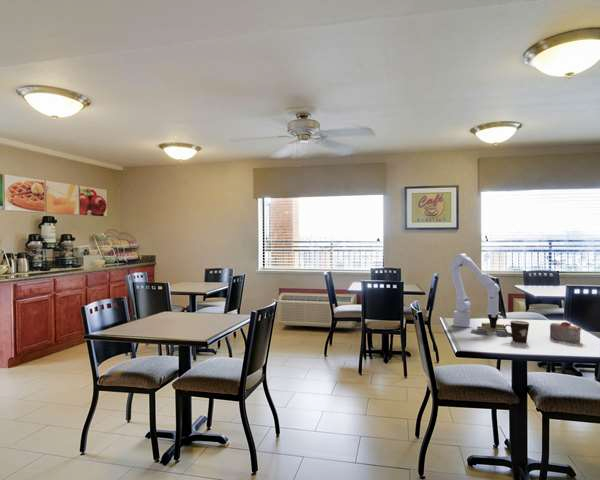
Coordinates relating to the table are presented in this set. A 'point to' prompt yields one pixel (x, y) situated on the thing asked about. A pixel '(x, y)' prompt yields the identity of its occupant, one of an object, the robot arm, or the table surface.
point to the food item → (565, 332)
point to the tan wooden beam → (492, 328)
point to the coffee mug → (518, 331)
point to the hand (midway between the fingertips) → (492, 327)
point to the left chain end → (480, 330)
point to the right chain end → (502, 332)
